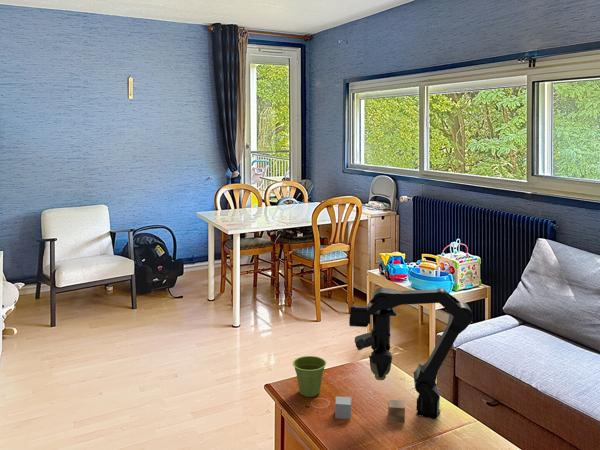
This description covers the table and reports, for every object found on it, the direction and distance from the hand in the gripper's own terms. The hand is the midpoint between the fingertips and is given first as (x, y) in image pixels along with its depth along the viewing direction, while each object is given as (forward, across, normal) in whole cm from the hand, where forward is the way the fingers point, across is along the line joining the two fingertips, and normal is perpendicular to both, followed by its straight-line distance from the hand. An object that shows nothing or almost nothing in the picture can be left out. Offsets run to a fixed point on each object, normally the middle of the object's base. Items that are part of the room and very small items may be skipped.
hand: (380, 372), depth 173 cm
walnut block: (+13, +5, +5) cm, 15 cm away
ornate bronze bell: (+2, 0, 0) cm, 2 cm away
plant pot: (+13, -9, -24) cm, 29 cm away
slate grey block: (+13, +5, -12) cm, 18 cm away
